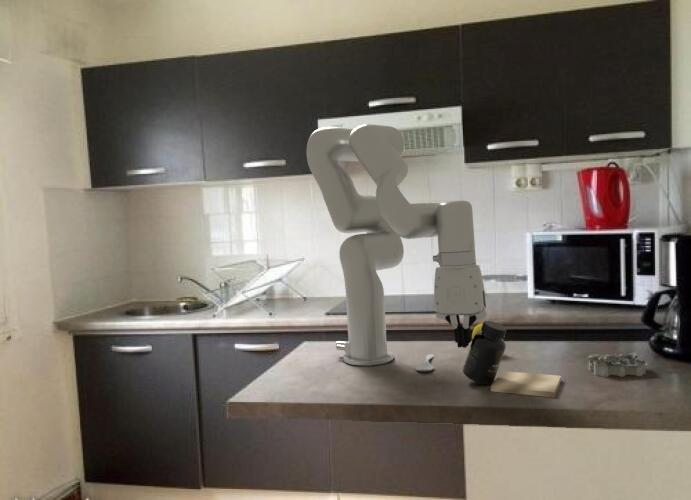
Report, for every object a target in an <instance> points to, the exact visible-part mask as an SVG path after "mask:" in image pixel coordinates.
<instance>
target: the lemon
mask: <svg viewBox="0 0 691 500" xmlns="http://www.w3.org/2000/svg"><path fill="white" fill-rule="evenodd" d="M483 322H484V321H481V322H480V323H479V324H476V326H475V327H474V328H473V330H472V334H471V341H472V340H473V337H474V335H475V334H476V333H478V332H482V331H481V327H482V325H483Z"/></svg>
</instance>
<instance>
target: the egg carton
mask: <svg viewBox="0 0 691 500" xmlns="http://www.w3.org/2000/svg"><path fill="white" fill-rule="evenodd" d="M586 359H587V360H588V370H589V371H590V372H591V371H593V374H594V375H595V376H598V377H599V376H600V377H602V378H603V377H604V378H607V377H610V376H618V377H625V376H628V375H630V376H635V375H636V376H635V377H643V374H644V375H646V374H647V373H646V366H648V365H649V364H648V362H646V361H645V359H643V358H642V357H641V356H640V355H638V353H637V352H636V351H633V352H630V353H625V354H624V353H620V354H618V353H612V354H608V353H607V354H599V353H592V354H591V353H590V355H588V356H587V357H586Z"/></svg>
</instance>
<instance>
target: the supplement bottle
mask: <svg viewBox="0 0 691 500" xmlns="http://www.w3.org/2000/svg"><path fill="white" fill-rule="evenodd" d="M482 322H483V325H482V327H481V331H482V332H478V333H476V334H475V335H474V337H473V340H472V339H471V342H470V346H469V349H468V351H467V355H466V358H465V361H464V364H463V367H462V372H463V375H464V376H465V377H466V378H467V379H469V380H471V381H473V382H475V383H478V384H481V385H492V384H493V383H494V381H495V380H496V378H497V377H496V376H497V374H498V371H499V370H500V369H499V368H500V366H501V362H502V359H503V356H504V355H505V351H506V347H507V345H506V342H505V341H504V339H505V337H506V333H507V328H506V327H505V326H504V325H502V324H501V323H499V322H495V321H493V320H492V321H491V320H485V321H482Z"/></svg>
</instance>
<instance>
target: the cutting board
mask: <svg viewBox="0 0 691 500" xmlns="http://www.w3.org/2000/svg"><path fill="white" fill-rule="evenodd" d="M561 382H562V375H556V374H543V373H531V372H519V371H518V372H516V371H508V370H507V371H505V370H501V372H500V373H499V375H498V376H497V377H496V378H495V380H494V382H493V383H491V384H490V392H494V393H495V392H496V393H504V394H514V395H516V394H517V395H527V396H536V397H545V398H546V397H547V398H555V397H556V394H557V392H558V389H559V387H560V384H561Z"/></svg>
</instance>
